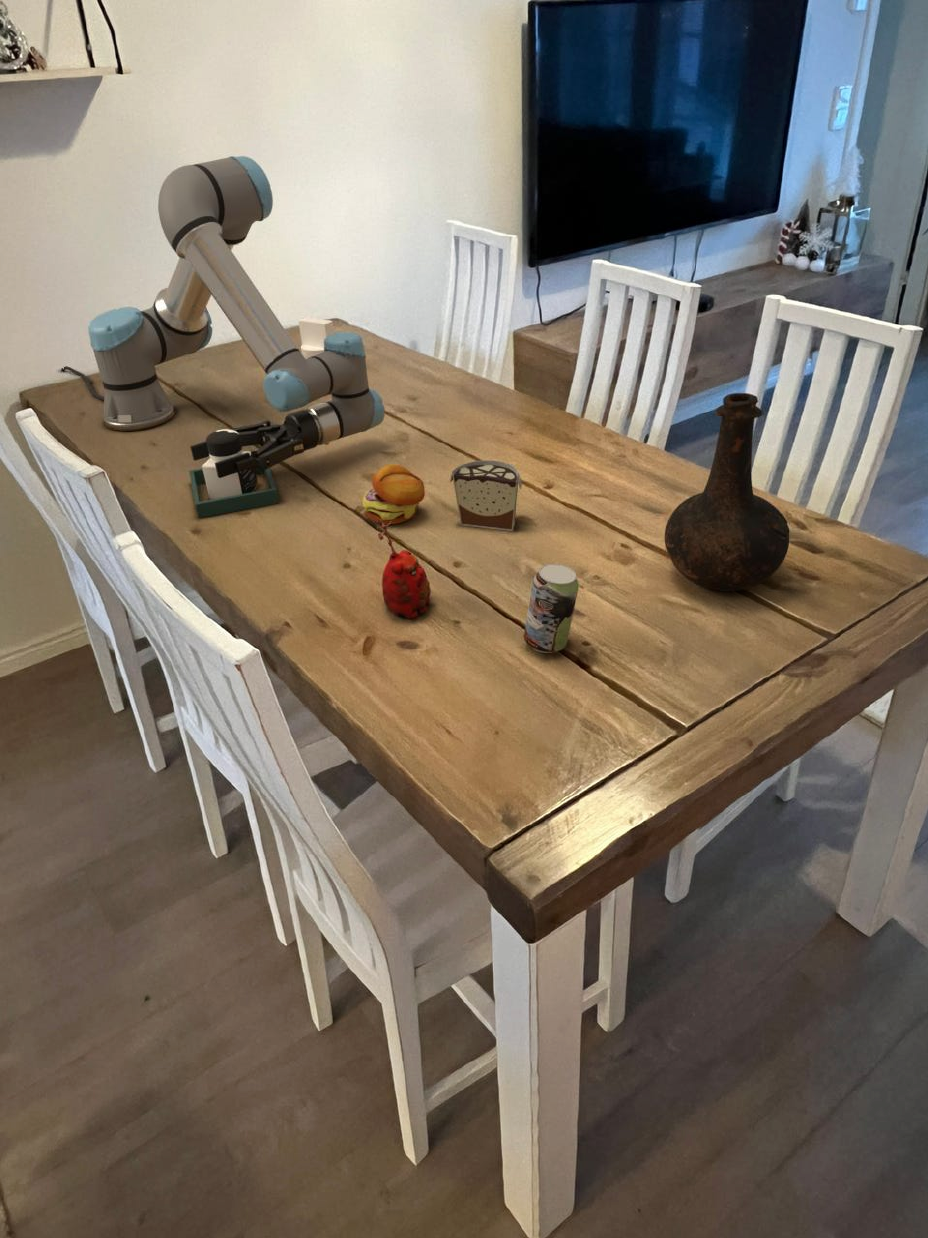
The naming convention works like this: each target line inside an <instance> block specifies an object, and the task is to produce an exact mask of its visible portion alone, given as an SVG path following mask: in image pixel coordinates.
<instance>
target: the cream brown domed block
mask: <svg viewBox="0 0 928 1238" xmlns="http://www.w3.org/2000/svg"><path fill="white" fill-rule="evenodd" d="M449 483H453V488H454V493H455V499H456V500H455V501H456V506H457V511H458V516H459V523H460V526H465V527H472V528H473V527H474V528H480V529H482V528H483V529H489V530H490V529H491V530H497V531H498V530H499V531H507V532H514V529H515V525H516V512H517V502H518V491H519V490H521V489H522V487H523V483H522V478H521V475H520V472H519V470H518V469H517V468H516V467H515V466H514V465H512V464H511V463H508V462H504V461H501V460H492V459H490V460H488V459H485V460H484V459H483V460H475V461H469V462H466V463H463V464H460V465H459V466H457V467H455V468H454V469H453V470H452V471H451V474H450V479H449ZM518 489H519V490H518Z"/></svg>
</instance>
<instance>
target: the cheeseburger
mask: <svg viewBox="0 0 928 1238" xmlns="http://www.w3.org/2000/svg"><path fill="white" fill-rule="evenodd" d="M371 481H372V482H371V485H372V487H371V488H369V489H368V490H367V491H366V493H364V495H363V497H362V507H363V508H364V513H365V515H366V516H367V518H369V519H370V520H372V521H374V522H376V523H377V524H381V522H380V521H378V520H379V519H380V520H381V521H382V522H383V523H384V524H385V525H388V524H389V523H390V522H392V523H391V524H390V525H395V524H396V525H397V524H400V523H403V522H407V521H408V520H410V519H411V518H413V517H414V516H415V515H416V513H417V510H418V506H419V504H420V502H422V501H423V500H424V498H425V496H426V492H425V484H424V482H423V480H422V478H420V477H419V476H417V475H415V474H414V473H413V472H411V471H410V470H409V469H408V468H406V466H404V465H401V464H398V463H397V464H395V463H389V464H386V465H385V466H383V467H381V468H380V469H378V470H377V472H375V473H374V475H373V477H372V479H371Z"/></svg>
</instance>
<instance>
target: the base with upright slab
mask: <svg viewBox="0 0 928 1238" xmlns="http://www.w3.org/2000/svg"><path fill="white" fill-rule="evenodd" d="M298 327H299V333H300V340H301V346H300V352H301V354H302V355H303V356H304V358H305V359H307V358H310V357H312V356H315V355H317V354H320V353H322V352H324V340H325V338H326V337H327V336H329V335H331V334H334V333H335V328H334V321H333V320H328V319H320V318H314V317H303V318H300V319H298Z"/></svg>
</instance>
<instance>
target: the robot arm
mask: <svg viewBox="0 0 928 1238" xmlns="http://www.w3.org/2000/svg"><path fill="white" fill-rule="evenodd" d="M273 205H274V198H273V192H272V189H271V184H270V181H269V178H268V177H267V174H266V173H265V171H264V170H263V168H262V167H261V166H260V165H259V163H257V162H256V160H254V159H252V158H251V157H248V156H244V155H242V156H241V155H239V156H233V155H230V156H228V157H224V158H219V159H214V160H209V161H204V162H200V163H195V164H186V165H182V166H180V167H177V168H176V169H174V170H172V171H171V172H170V173H169V174H168V175H167V176H166V178H165V179H164V181H163V182H162V185H161V187H160V190H159V193H158V203H157V211H158V217H159V221H160V226H161V228H162V231H163V234H164V237H165V238H166V240H167V242H168V243H169V245H170V247H171V249H172V250H173V251H174V253H175V255H177V257H178V260H177V263H176V265H175V268H174V271H173V273H172V276H171V279H170V281H169V284H168V287H165V288H163V289H161V290H160V291H159V292H158V293H157V295H156V297H155V298H154V301H153V304H152V306H151V307H150V308H147V309H144V310H140V309H139V308H137V307H133V306H123V307H120V308H114V309H110V310H108V311H105V312H102V313H99V314H98V315H96V316H95V317H94V318H93V319H92V320H91V321H90V322H89V325H88V328H87V331H88V335H89V342H90V343H89V344H90V347H91V348H92V351H93V355H94V358H95V362H96V365H97V368H98V372H99V375H100V379H101V383H102V385H103V390H104V396H102V395H100V394H98V393H97V391H95V389H94V388H93V387H92V385H91V380H90V379H89V378H88V377H87V376H86V375H85V374H84V373H82V372H80V371H78V370H76V369H74V368H73V367H71V366H66V365H65V367H64V366H63V367H64V369H63V368H62V367H61V369H60V372H61V373H63V372H65V370H67V371H69V372H71V373H73V374H75V375H77V376H79V377H81V378H82V379H84V381H85V382H86V385H87V388H88V390H89V392H90V393H91V394H92V395H93V396H94V397H95V398H96V399H98V400H100V401H103V419H104V424H105V426H106V427H107V428H108V429H110V430H114V431H119V432H120V431H121V432H133V431H141V430H145V429H151V428H154V427H158V426H160V425H162V424H164V423H166V422H168V421H169V420H171V419H172V418H173V417H174V415H175V409H174V404H173V403H172V401H171V400H170V397H169V396H168V394H167V393H166V391H165V390H164V388H163V386H162V385H161V383H160V381H159V379H158V375H157V370H156V366H158V365H160V364H163V363H167V362H170V361H173V360H175V359H178V358H181V357H184V356H186V355H187V356H188V355H192V354H195V353H197V352H199V351H200V350H202V349H204V348H205V347H207V345H208V344H209V343H210V341H211V339H212V337H213V327H212V326H211V325H212V324H213V322H212V321H213V320H212V317H211V315H210V312H209V310H208V308H207V305H208V303H209V301H210V299H211V297H213V299H214V301H215V302H216V304H217V305H218V307H219V308H220V309H221V311H222V313H223V314H224V315H225V316H226V318H227V319H228V321H229V323H230V324H231V326H232V327H233V328H234V329H235V331H236V332H237V334H238V335H239V337H240V338H241V339H242V341H243V342H244V344H245V345H246V347H247V348H248V350H249V352H251V354H252V356H253V357H254V358H255V360H256V361H257V363H258V364H259V365H260V367H261V368H262V370H263V371H264V372H265V374H266V376H265V377H264V379H263V384H262V385H263V391H264V393H265V394H266V399H267V401H268V402H269V404H270V405H271V406H272V407H273V408H274V409H275V410H277V411H279V412H283V413H284V412H290V411H293V412H290V413H288V414H287V415H286V416H285V418H284V421H283V423H282V424H278V423H277V424H272V423H271V421H270V420H264V421H262V422H261V421H260V422H259V423H255V424H249V425H245V426H239V427H234V428H229V429H228V430H234V431H236V432H238V433H239V435H240V440H241V445H242V448H243V447H251V446H260V447H259V448H258V449H256V450H254V449H253V450H252V449H250V451H249V452H251V457H250V454H249V453H248V452H247V453H244V454H241V455H238V456H235V457H232V458H229V459H226V460H223V461H219V462H216V463H215V467H216V471H217V476H218V477H219V478H222V477H225V476H228V475H231V474H234V473H237V472H240V471H243V470H246V469H249V468H252V467H253V466H254V468H258V467H261V469H262V470H266V469H268V468H269V469H270V468H272V467H274V466H276V465H278V464H280V463H282V462H284V461H286V460H288V459H289V458H292V457H294V456H297V455H300V454H303V453H305V452H306V451H309V450H311V449H315V448H316V447H318V446H322V445H325V446H327V445H329V444H330V443H332V442H334V441H339V440H340V439H344V438H346V437H349V436H350V437H351V436H353V435H356V434H359V433H365V432H367V431H369V430H371V429H374V428H376V427H378V426H380V425H381V424H382V423H383V422H384V419H385V416H386V409H385V405H384V404H383V399H382V396H380V394H379V393H378V392H377V391H376V390H374V389H371V388H370V387H369V377H368V369H367V359H366V358H367V355H366V351H365V345H364V340H363V338H362V336H361V335H359V334H358V333H356V332H351V331H339V332H334V334H331V335H329V336H327V337H326V338H325V340H324V352H322V353H320V354H317V355H315V356H312V357H310V358H307V359H305V358H304V356H303V355H302V352H301V350H300V349H299V348H298V346H297V345H296V344H295V342H294V341H293V339H292V338H291V336H290V334H289V333H288V332H287V331H286V329H285V328H284V326H283V325H282V323H281V322H280V320H279V319H278V317H277V315H276V314H275V313H274V311H273V309H272V308H271V306H269V304H268V303H267V301H266V300H265V298H264V297H263V295H262V294H261V292H260V291H259V290H258V288H257V287H256V285H255V284H254V282H253V281H252V279H251V278H250V276H249V274H248V273H247V272H246V270H245V269H244V267H243V266H242V265H241V263H240V262H239V260H238V259H237V257H236V255H235V254H234V253H233V251H232V250H233V249H234V246H237V245H239V244H242V243H243V242H244V241H245V240H246V238H248V237H247V236H248V235H249V233H250V230H251V228H252V226H253V224H254V223H256V222H263V221H264V220H266V219H267V218H268V217H269V216H270V215H271V213H272V211H273ZM329 395H331V400H328V401H325V402H321V403H318V404H314V405H312V406H308V405H309V404H311V403H313V402H315V401H318V400H320V399H321V398H324V397H326V396H329ZM306 406H308V407H306ZM303 407H306V408H304V409H300V408H303ZM297 409H299V410H297ZM294 410H296V411H294ZM190 451H191V452H190V453H191V456H192V460H193V461H194V462H195V461H196V462H197V461H199V460H202V459H205V458H208V457H209V458H210V456H209V452H208V447H207V443H206V440H205V441H203V442H199V443H195V444H193V445H190Z"/></svg>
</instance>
